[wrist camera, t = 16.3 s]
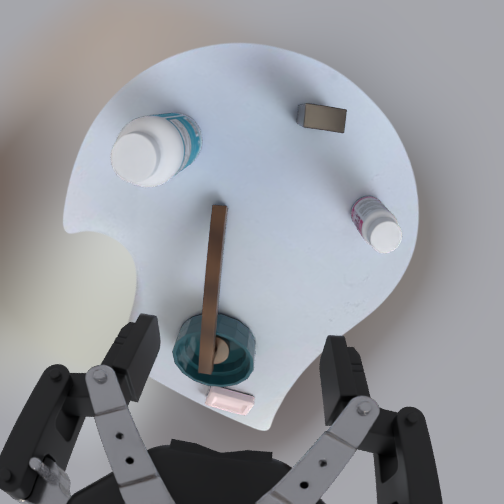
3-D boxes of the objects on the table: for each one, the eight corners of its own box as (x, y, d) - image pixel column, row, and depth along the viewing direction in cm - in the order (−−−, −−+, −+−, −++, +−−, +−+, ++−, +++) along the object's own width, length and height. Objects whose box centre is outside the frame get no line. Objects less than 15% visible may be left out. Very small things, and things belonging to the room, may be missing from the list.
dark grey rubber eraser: (328, 127, 35) (344, 133, 27) (296, 123, 35) (303, 127, 27) (330, 109, 34) (346, 109, 26) (298, 104, 34) (305, 103, 26)
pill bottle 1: (142, 156, 38) (89, 180, 26) (161, 105, 35) (110, 107, 23) (191, 176, 39) (155, 209, 27) (213, 125, 36) (182, 133, 24)
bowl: (166, 321, 50) (158, 340, 46) (236, 302, 47) (232, 322, 43) (202, 371, 55) (197, 391, 51) (266, 358, 52) (265, 379, 48)
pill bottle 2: (344, 207, 39) (359, 232, 32) (373, 188, 38) (395, 209, 30) (360, 234, 41) (377, 263, 33) (388, 217, 39) (411, 242, 32)
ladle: (229, 361, 50) (221, 388, 39) (201, 357, 50) (186, 383, 39) (243, 216, 49) (238, 206, 39) (213, 213, 50) (201, 203, 39)
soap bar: (212, 383, 57) (210, 392, 55) (255, 395, 58) (254, 404, 55) (206, 397, 59) (204, 405, 57) (246, 408, 60) (245, 417, 58)
